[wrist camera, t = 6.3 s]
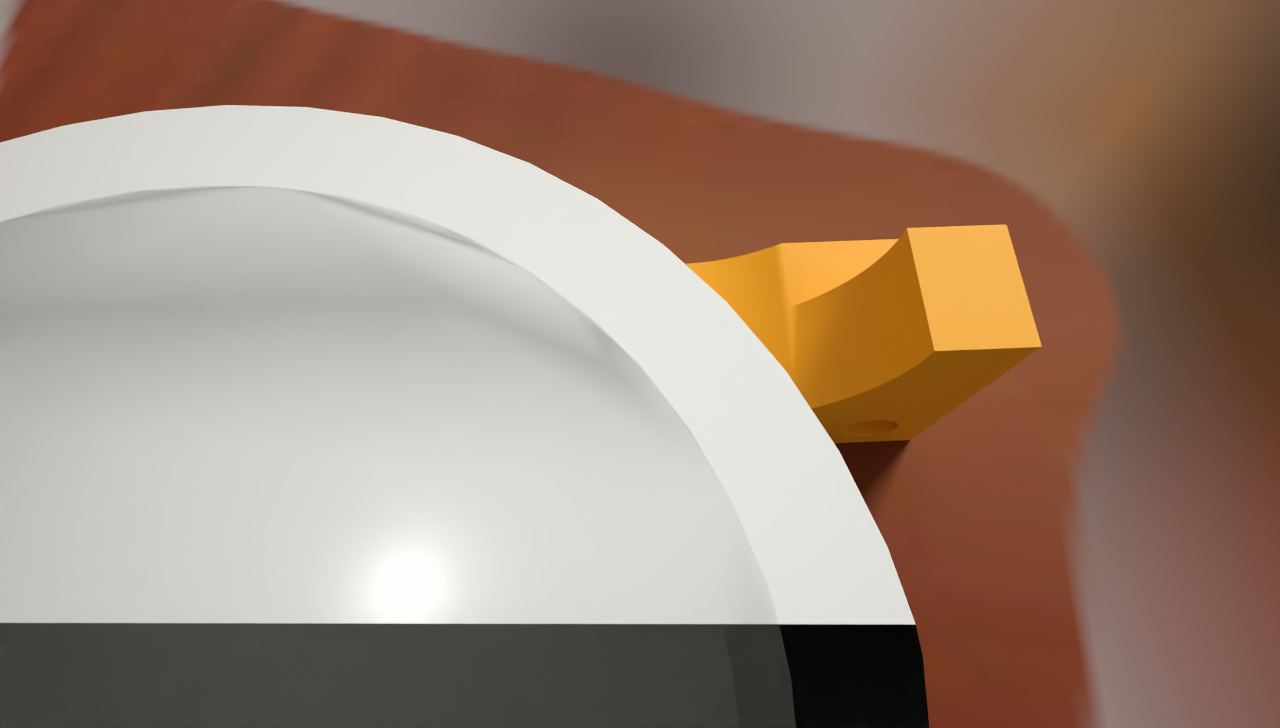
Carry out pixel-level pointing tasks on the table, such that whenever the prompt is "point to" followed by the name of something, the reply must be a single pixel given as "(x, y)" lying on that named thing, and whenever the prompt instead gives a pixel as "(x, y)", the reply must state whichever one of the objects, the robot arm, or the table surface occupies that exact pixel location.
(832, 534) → the white domed pillar
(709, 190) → the table surface
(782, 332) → the pipe clamp
